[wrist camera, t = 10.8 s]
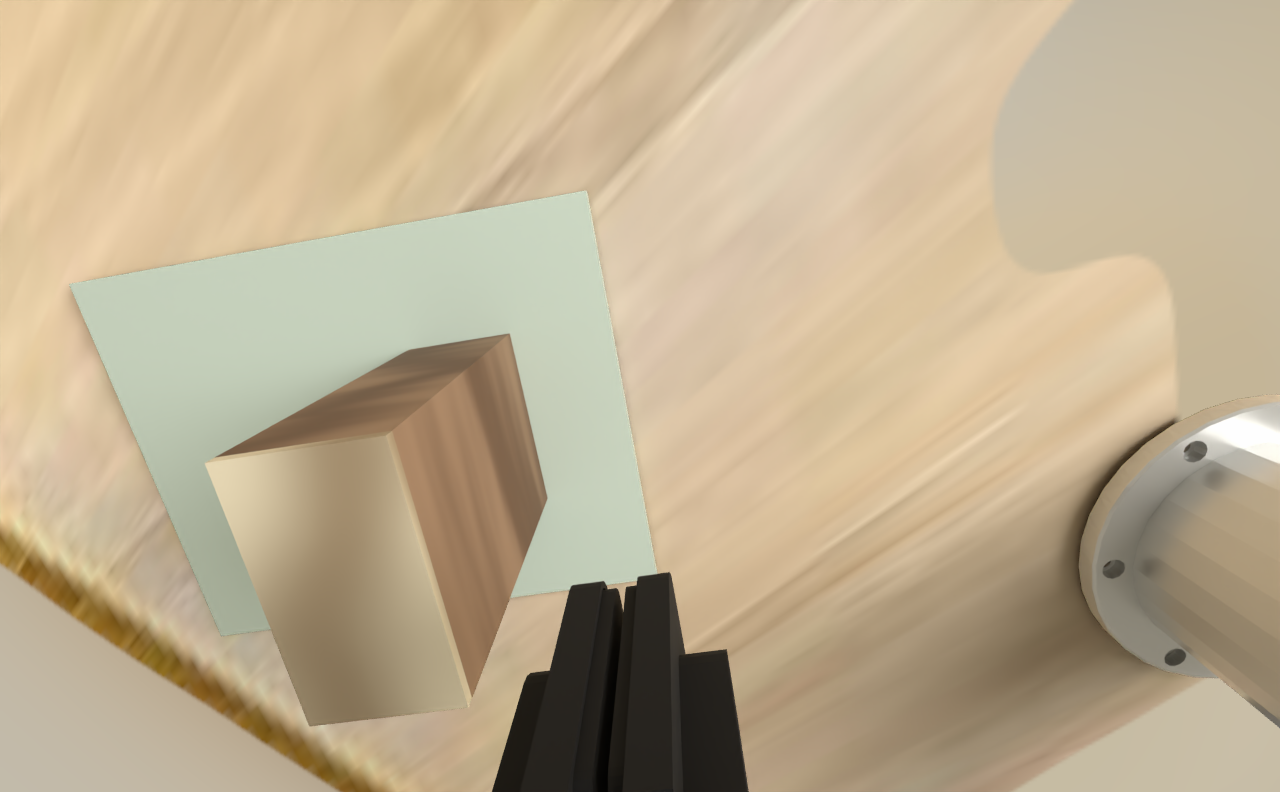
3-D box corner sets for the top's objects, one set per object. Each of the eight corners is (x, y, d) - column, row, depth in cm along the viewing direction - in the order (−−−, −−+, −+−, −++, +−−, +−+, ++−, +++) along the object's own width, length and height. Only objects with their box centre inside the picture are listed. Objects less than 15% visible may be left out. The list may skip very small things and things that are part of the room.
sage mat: (586, 191, 22) (585, 190, 22) (657, 572, 26) (657, 578, 26) (78, 282, 23) (68, 283, 23) (227, 630, 28) (221, 636, 28)
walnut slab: (509, 333, 23) (385, 435, 13) (547, 498, 25) (468, 707, 14) (409, 349, 23) (204, 462, 13) (454, 511, 25) (309, 726, 15)
